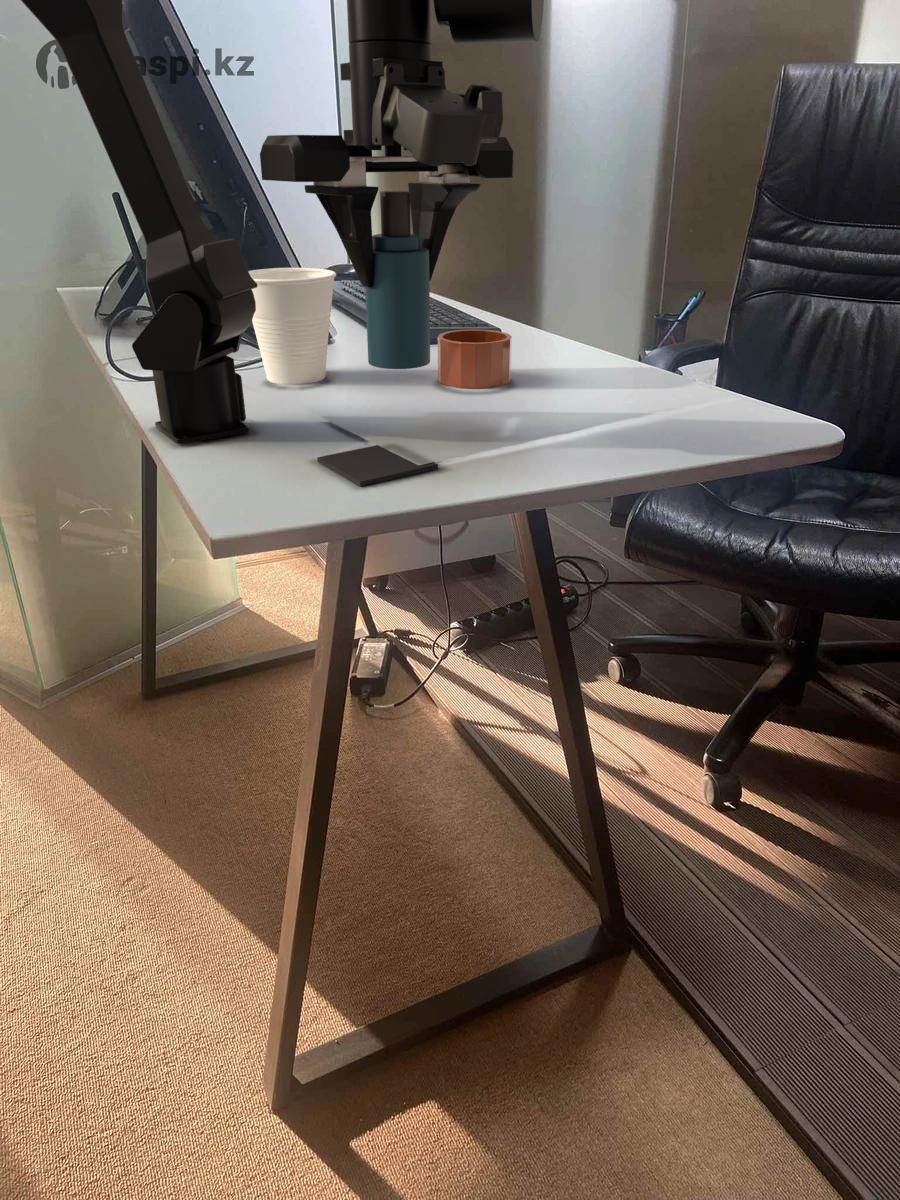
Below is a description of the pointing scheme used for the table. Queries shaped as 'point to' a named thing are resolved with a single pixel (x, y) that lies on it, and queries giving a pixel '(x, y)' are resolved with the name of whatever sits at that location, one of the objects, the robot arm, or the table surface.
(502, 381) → the holder
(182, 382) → the robot arm
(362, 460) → the coaster
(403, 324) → the bottle
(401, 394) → the table surface
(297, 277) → the cup
